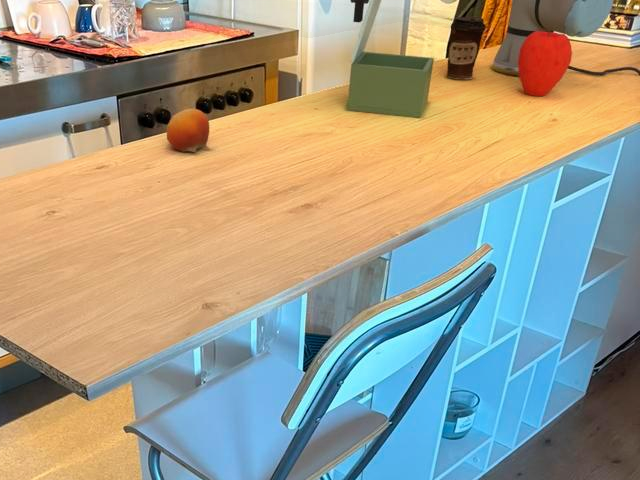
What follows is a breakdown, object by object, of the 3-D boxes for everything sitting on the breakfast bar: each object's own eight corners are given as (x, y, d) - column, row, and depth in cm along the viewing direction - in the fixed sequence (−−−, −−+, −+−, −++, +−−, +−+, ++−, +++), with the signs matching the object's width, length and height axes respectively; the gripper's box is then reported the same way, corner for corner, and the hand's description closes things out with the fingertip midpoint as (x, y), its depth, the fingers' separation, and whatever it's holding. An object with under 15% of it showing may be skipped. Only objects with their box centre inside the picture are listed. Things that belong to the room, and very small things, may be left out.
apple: (564, 92, 196) (580, 28, 188) (559, 102, 188) (575, 36, 179) (514, 86, 199) (528, 23, 191) (507, 96, 191) (520, 31, 182)
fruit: (202, 151, 147) (182, 106, 144) (172, 167, 152) (153, 124, 149) (226, 141, 152) (208, 97, 149) (197, 157, 157) (179, 115, 155)
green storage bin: (427, 102, 185) (434, 57, 179) (420, 117, 174) (427, 71, 169) (358, 95, 188) (362, 51, 182) (347, 110, 177) (351, 64, 172)
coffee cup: (476, 82, 201) (487, 22, 192) (442, 80, 202) (451, 20, 194) (476, 75, 207) (486, 16, 199) (443, 72, 208) (452, 14, 200)
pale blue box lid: (394, -37, 170) (390, -39, 170) (384, -29, 160) (380, -31, 160) (364, 49, 182) (361, 48, 182) (353, 62, 171) (349, 61, 171)
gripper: (334, -120, 156) (324, 21, 171) (401, -117, 153) (385, 26, 169) (341, -122, 161) (331, 16, 177) (407, -119, 159) (390, 20, 174)
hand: (357, 21), depth 173 cm, fingers closed
